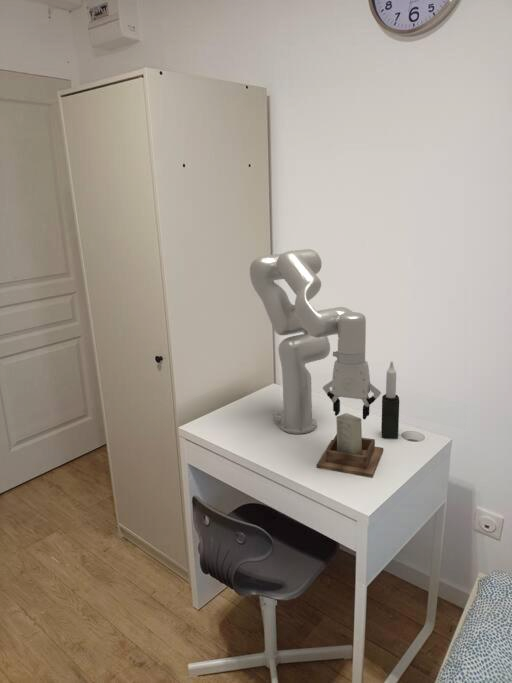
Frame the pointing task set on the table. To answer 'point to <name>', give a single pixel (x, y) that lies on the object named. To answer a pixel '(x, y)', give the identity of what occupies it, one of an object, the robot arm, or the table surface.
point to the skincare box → (349, 434)
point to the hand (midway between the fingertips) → (351, 415)
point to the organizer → (352, 459)
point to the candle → (390, 406)
